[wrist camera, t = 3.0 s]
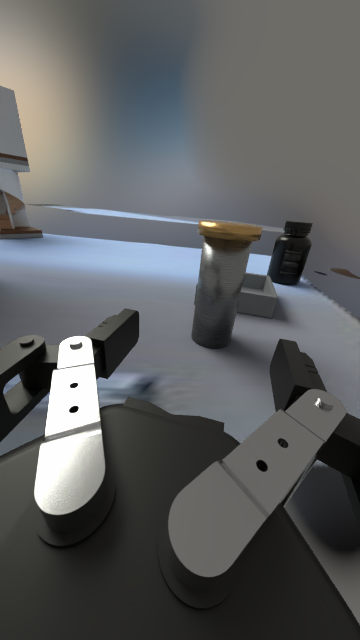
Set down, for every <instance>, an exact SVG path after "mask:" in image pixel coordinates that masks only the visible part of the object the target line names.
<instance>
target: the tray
mask: <svg viewBox="0 0 360 640" xmlns="http://www.w3.org/2000/svg"><path fill="white" fill-rule="evenodd" d="M197 287H198V284H197V286H196V295H197ZM196 295H195V303H196ZM277 300H278V296H277V294H276V291H275V288H274V286H273V283H272V281H271V278H270V276H266V275H259V274H252V273H245V276H244V281H243V285H242V290H241V294H240V299H239V303H238V308H237V312H239V313H245V314H251V315H256V316H262V317H268V318H272V316H273V313H274V310H275V306H276V303H277ZM195 303H194V305H195Z"/></svg>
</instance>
